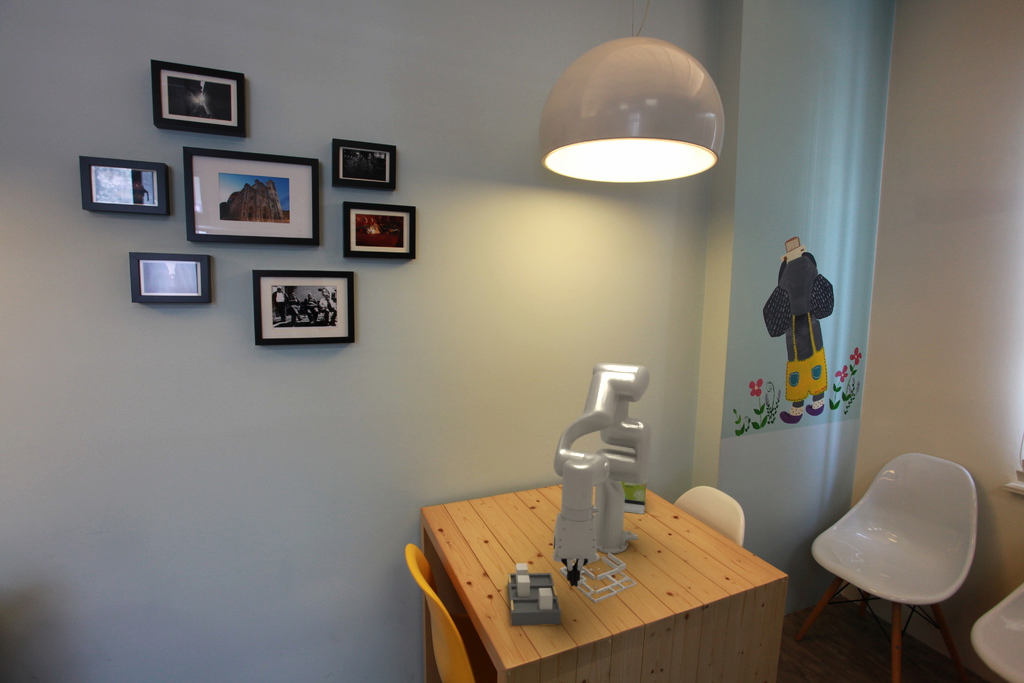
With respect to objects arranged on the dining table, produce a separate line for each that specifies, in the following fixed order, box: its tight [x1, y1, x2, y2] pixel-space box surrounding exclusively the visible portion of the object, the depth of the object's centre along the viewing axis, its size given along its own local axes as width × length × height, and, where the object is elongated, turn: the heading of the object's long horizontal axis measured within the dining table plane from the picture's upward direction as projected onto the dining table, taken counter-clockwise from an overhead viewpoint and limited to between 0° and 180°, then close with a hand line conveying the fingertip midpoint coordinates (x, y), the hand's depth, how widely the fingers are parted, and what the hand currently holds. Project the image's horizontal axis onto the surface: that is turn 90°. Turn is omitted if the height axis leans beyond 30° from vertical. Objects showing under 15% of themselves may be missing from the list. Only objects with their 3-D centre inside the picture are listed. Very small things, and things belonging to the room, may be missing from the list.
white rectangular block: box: [515, 562, 529, 584], centre depth 125 cm, size 3×3×4 cm
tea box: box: [619, 481, 647, 515], centre depth 178 cm, size 15×10×15 cm, turn 77°
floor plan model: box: [559, 552, 637, 604], centre depth 136 cm, size 19×25×2 cm
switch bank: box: [507, 572, 562, 626], centre depth 120 cm, size 12×16×4 cm
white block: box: [517, 575, 530, 597], centre depth 119 cm, size 3×3×4 cm
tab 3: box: [538, 588, 553, 610], centre depth 114 cm, size 3×3×4 cm
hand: (573, 583), depth 114 cm, fingers closed
